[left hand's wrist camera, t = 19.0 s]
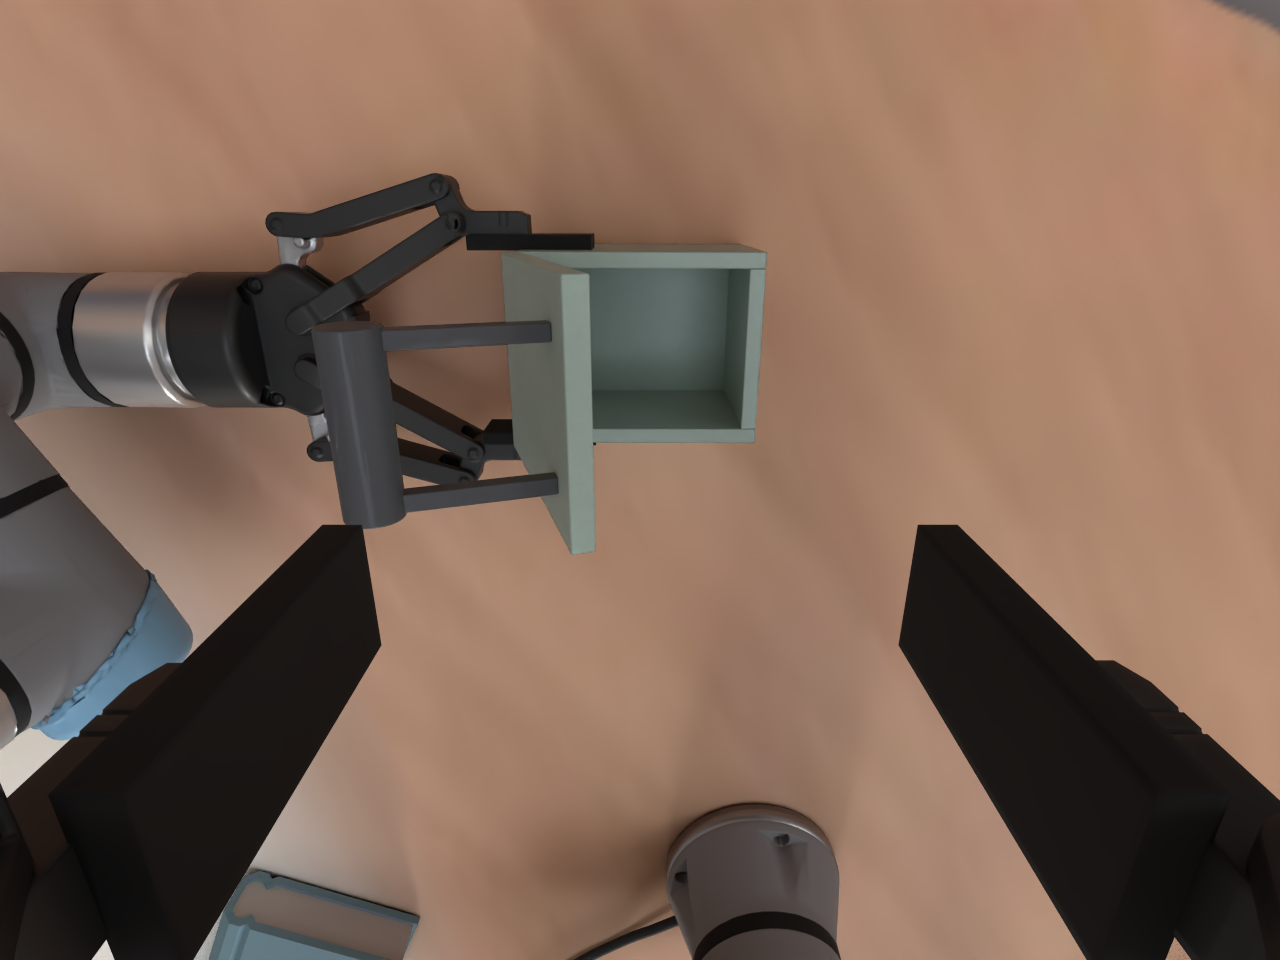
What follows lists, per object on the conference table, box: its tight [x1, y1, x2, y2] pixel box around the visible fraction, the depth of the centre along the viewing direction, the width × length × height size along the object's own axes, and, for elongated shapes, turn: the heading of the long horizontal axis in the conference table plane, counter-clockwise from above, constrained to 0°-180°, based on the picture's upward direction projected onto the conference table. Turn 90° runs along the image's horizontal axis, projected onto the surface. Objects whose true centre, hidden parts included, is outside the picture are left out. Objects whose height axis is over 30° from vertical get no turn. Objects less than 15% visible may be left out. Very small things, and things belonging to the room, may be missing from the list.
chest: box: [514, 244, 767, 443], centre depth 41 cm, size 13×10×10 cm
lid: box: [311, 252, 596, 555], centre depth 29 cm, size 14×10×9 cm
